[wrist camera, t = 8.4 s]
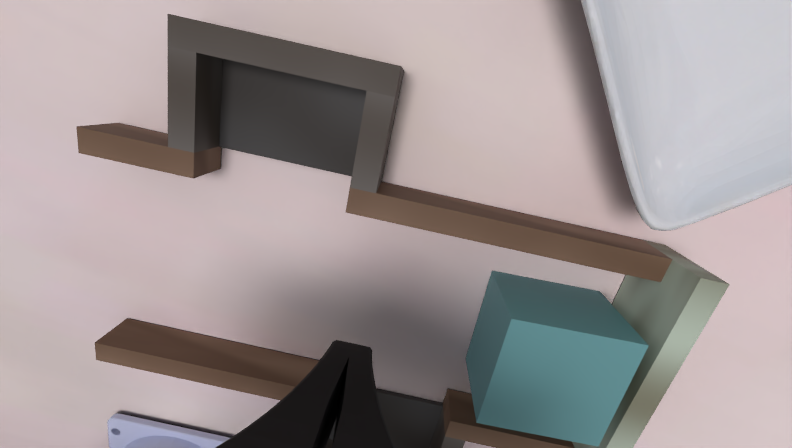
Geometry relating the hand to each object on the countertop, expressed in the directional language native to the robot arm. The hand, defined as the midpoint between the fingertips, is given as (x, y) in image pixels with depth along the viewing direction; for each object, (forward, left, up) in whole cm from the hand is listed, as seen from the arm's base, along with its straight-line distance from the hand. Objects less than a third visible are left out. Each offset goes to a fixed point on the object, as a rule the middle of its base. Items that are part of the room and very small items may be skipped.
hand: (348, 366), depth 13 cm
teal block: (0, -8, -5) cm, 9 cm away
